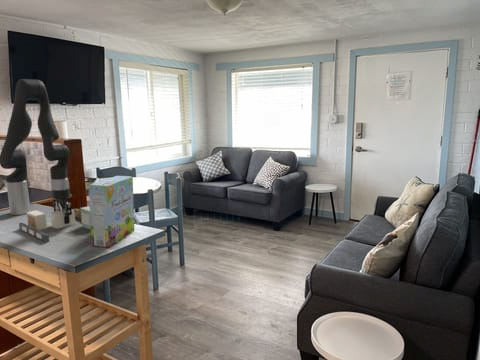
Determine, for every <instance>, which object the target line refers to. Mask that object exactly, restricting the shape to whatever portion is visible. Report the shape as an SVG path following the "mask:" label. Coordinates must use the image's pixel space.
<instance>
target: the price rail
mask: <svg viewBox="0 0 480 360" xmlns="http://www.w3.org/2000/svg"><path fill="white" fill-rule="evenodd" d="M18 229H19V230H20V231H21V232H23V233H26V234H28V235H31V236H32V237H34V238H37V239H38V240H40V241H43V242H45V243H49V242H50V238H49V237H50V235H49V234H48V233H46V232H43V231H41V230H37V229H35V228H32V227H30V226H28V224H26V223H24V222H19V223H18Z"/></svg>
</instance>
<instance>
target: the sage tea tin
mask: <svg viewBox="0 0 480 360" xmlns="http://www.w3.org/2000/svg"><path fill="white" fill-rule="evenodd" d="M79 210H81V218H80V221H81V227H82V226H83V228H85V229H88V230H90V231H91V219H90V205H88V206H83V207H79Z"/></svg>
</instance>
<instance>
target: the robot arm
mask: <svg viewBox="0 0 480 360" xmlns="http://www.w3.org/2000/svg"><path fill="white" fill-rule="evenodd" d="M13 100H14V101H13V106H12V112H11V115H10V119H9V123H8V127H7V132H6V136H5V140H4V143H3V145H2V148H1V150H0V166H1V168H2V169H4V170H5V169H6V170H12V169H14V171H12V172H11V173H10V174H7V175H6V177H5V182H6V189H7V199H8V206H9V214H10V215H12V216H19V215H27V212H31V205H30V196H29V195H30V194H29V187H28V186H29V185H28V177H27V176H28V169H27V168H28V167H27V166H28V165H27V164H28V163H27V157H26V154H25V152H24V150H22V149H17V147H19V146H20V145H21V144H22V143H24V141H25V140H27V138H28V137H29V136H30V134H31V130H32V126H33V121H32V119H31V116H30V114H29V113H28V110H27V102H28V101H38V104H39V114H38V117H37V118H38V119H37V129H38V130H39V131H38V132H39V134H40V136H41V138H42V139H41V140H42V147H43V155H44V158H45V159H46V160H47V161H50V162H55V161H57V163H56V164H55V165H53V166H51V167H50V168H49V170H50V171H49V172H50V190H51V197H52V199H51V202H52V206H53V207H52V209H53V212H56V211H61V212H63V215H64V223H65V224H68V223H70V219H69V215H72V210H73V206H72V205H73V204H72V202H69V200H68V199H69V198H70V197H71V193H70V182H69V176H68V166H69V161H70V156H71V155H70V149H69V147H68V146H67V145H65V144H55V145H54V142H55V141H58V140H59V138H60V135H59V131H58V129H57V127H56V125H55V122H54V117H53V114H52V110H51V105H50V100H49V96H48V92H47V88H46V86H45V84H44V82H43V81H41V80H40V79H33V78H32V79H30V78H21V79H19V80H18V81H17V82H16V85H15V90H14V99H13ZM69 211H70V212H69ZM65 213H66V214H65Z"/></svg>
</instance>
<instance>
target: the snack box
mask: <svg viewBox="0 0 480 360" xmlns="http://www.w3.org/2000/svg"><path fill="white" fill-rule="evenodd" d="M133 178H134V177H133V176H129V175H115V176H112V177H109V178H105V179H102V180H99V181H96V182H94V183H90V184H88V196H89V197H88V198H89V203H90V205H89V206H90V219H91V230H90V234H91V235H90V236H91V247H101V248H110V247H112V246H113V245H115V244H117V242H119V241H120V240H123V239H124V238H126V237H127V236H129V235H130V234H131V233H133V232H134V231H135V213H134V212H135V211H134V210H135V209H134V208H135V207H134V179H133Z"/></svg>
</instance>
